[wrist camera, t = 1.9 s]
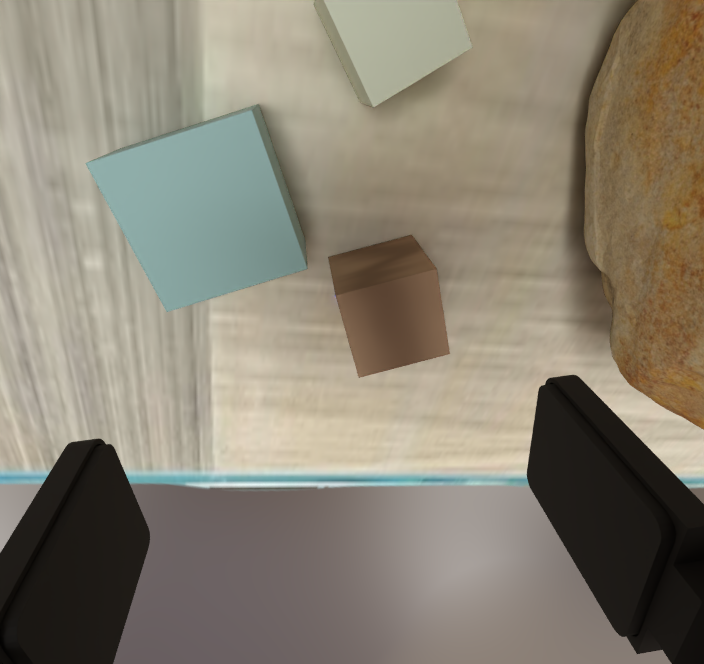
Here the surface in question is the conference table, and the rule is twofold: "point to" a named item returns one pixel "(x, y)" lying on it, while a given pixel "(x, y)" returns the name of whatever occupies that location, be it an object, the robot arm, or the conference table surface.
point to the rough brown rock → (652, 199)
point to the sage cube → (392, 41)
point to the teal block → (204, 208)
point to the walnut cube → (389, 305)
